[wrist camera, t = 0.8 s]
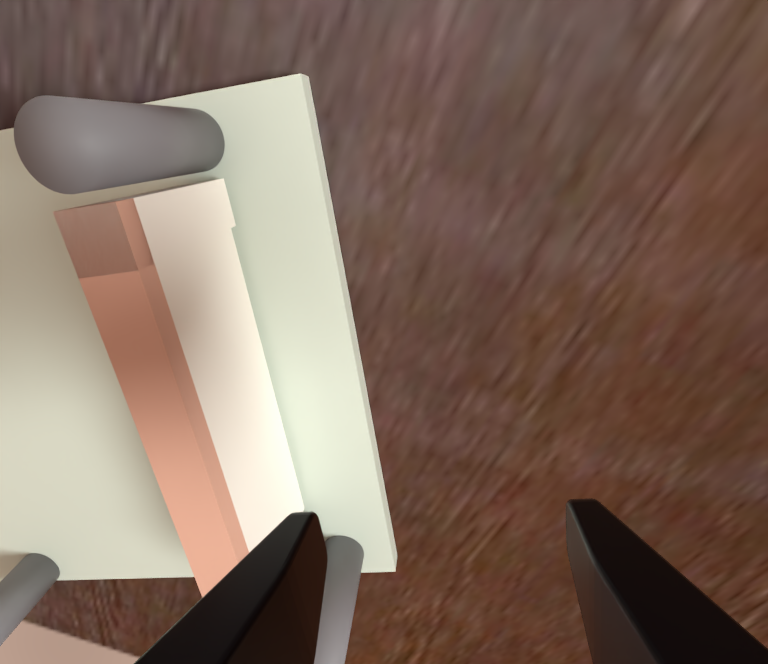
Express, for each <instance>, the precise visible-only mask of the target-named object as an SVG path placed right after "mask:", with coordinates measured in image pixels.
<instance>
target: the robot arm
mask: <svg viewBox="0 0 768 664" xmlns="http://www.w3.org/2000/svg"><path fill="white" fill-rule="evenodd" d="M566 539H567V551H568V557H569V561H570V566H571V570H572V574H573V579H574V583H575V587H576V592H577V596H578V601H579V605H580V609H581V614H582V618H583V622H584V627H585V631H586V635H587V640H588V644H589V648H590V652H591V656H592V660H593V664H768V649H767V648H766V647H765V646H764V645H763V644H762V643H760V642H759V641H758V640H757V639H756V638H755V637H754V636H752V635H751V634H750V633H749V632H748V631H747V630H745V629H744V628H743V627H742V626H741V625H740V624H739V623H737V622H736V621H735V620H734V619H733V618H732V617H731V616H729V615H728V614H727V613H726V612H725V611H724V610H723V609H721V608H720V607H719V606H718V605H717V604H716V603H715V602H713V601H712V600H711V599H710V598H709V597H708V596H707V595H705V594H704V593H703V592H702V591H701V590H700V589H699V588H697V587H696V586H695V585H694V584H693V583H692V582H690V581H689V580H688V579H687V578H686V577H685V576H684V575H682V574H681V573H680V572H679V571H678V570H677V569H676V568H674V567H673V566H672V565H671V564H670V563H669V562H668V561H666V560H665V559H664V558H663V557H662V556H661V555H660V554H658V553H657V552H656V551H655V550H654V549H653V548H652V547H650V546H649V545H648V544H647V543H646V542H645V541H643V540H642V539H641V538H640V537H639V536H638V535H637V534H635V533H634V532H633V531H632V530H631V529H630V528H629V527H627V526H626V525H625V524H624V523H623V522H622V521H621V520H619V519H618V518H617V517H616V516H615V515H614V514H613V513H611V512H610V511H609V510H608V509H607V508H606V507H605V506H603V505H602V504H601V503H600V502H599V501H597V500H595V499H571V500H569V501H568V502H567V503H566ZM327 562H328V556H327V548H326V544H325V541H324V537H323V533H322V529H321V525H320V521H319V517H318V516H317V514H316V513H315V512H312V511H311V512H294V513H291V514H289V515H288V516H287V517H286V518H285V519H284V520H283V521H282V522H281V523H280V524H279V525H278V526H276V527H275V528H274V529H273V530H272V531H271V532H270V533H269V534H268V535H267V536H266V537H265V538H264V539H263V540H262V541H261V542H260V543H259V544H258V545H257V546H256V547H255V548H254V549H253V550H252V551H250V552H249V553H248V554H247V555H246V556H245V557H244V558H243V559H242V560H241V561H240V562H239V563H238V564H237V565H236V566H235V567H234V568H233V569H232V570H231V571H230V572H229V573H228V574H227V575H225V576H224V577H223V578H222V579H221V580H220V581H219V582H218V583H217V584H216V585H215V586H214V587H213V588H212V589H211V590H210V591H209V592H208V593H207V594H206V595H205V596H204V597H203V598H202V599H201V600H199V601H198V602H197V603H196V604H195V605H194V606H193V607H192V608H191V609H190V610H189V611H188V612H187V613H186V614H185V615H184V616H183V617H182V618H181V619H180V620H179V621H178V622H177V623H176V624H174V625H173V626H172V627H171V628H170V629H169V630H168V631H167V632H166V633H165V634H164V635H163V636H162V637H161V638H160V639H159V640H158V641H157V642H156V643H155V644H154V645H153V646H152V647H151V648H150V649H148V650H147V651H146V652H145V653H144V654H143V655H142V656H141V657H140V658H139V659H138V660H137V661H136V662H135V663H134V664H314V660H315V654H316V647H317V640H318V632H319V625H320V617H321V610H322V602H323V594H324V587H325V579H326V572H327Z"/></svg>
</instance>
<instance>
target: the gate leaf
mask: <svg viewBox="0 0 768 664" xmlns="http://www.w3.org/2000/svg"><path fill="white" fill-rule="evenodd" d="M53 214H54V217H55V219H56V222H57V224H58V227H59V229H60V232H61V235H62V237H63V240H64V242H65V245H66V247H67V250H68V253H69V255H70V258H71V260H72V263H73V265H74V268H75V271H76V273H77V276H78V278H79V281H80V283H81V286H82V289H83V291H84V294H85V296H86V299H87V302H88V304H89V307H90V309H91V312H92V314H93V317H94V320H95V322H96V325H97V327H98V330H99V332H100V335H101V338H102V340H103V343H104V345H105V348H106V350H107V353H108V356H109V358H110V361H111V363H112V366H113V368H114V371H115V374H116V376H117V379H118V381H119V384H120V386H121V389H122V392H123V394H124V397H125V399H126V402H127V404H128V407H129V410H130V412H131V415H132V417H133V420H134V423H135V425H136V428H137V430H138V433H139V435H140V438H141V441H142V443H143V446H144V448H145V451H146V453H147V456H148V459H149V461H150V464H151V466H152V469H153V471H154V474H155V477H156V479H157V482H158V484H159V487H160V489H161V492H162V495H163V497H164V500H165V502H166V505H167V507H168V510H169V513H170V515H171V518H172V520H173V523H174V525H175V528H176V531H177V533H178V536H179V538H180V541H181V543H182V546H183V549H184V551H185V554H186V556H187V559H188V562H189V564H190V567H191V569H192V572H193V574H194V577H195V580H196V582H197V585H198V587H199V590H200V592H201V595H202V598H203V597H204V596H205V595H206V594H207V593H208V592H209V591H210V590H211V589H212V588H213V587H214V586H215V585H216V584H217V583H218V582H219V581H220V580H221V579H222V578H223V577H224V576H225V575H227V574H228V573H229V572H230V571H231V570H232V569H233V568H234V567H235V566H236V565H237V564H238V563H239V562H240V561H241V560H242V559H243V558H244V557H245V556H246V555H247V554H248V553H249V552H250V551H252V550H253V549H254V548H255V547H256V546H257V545H258V544H259V543H260V542H261V541H262V540H263V539H264V538H265V537H266V536H267V535H268V534H269V533H270V532H271V531H272V530H273V529H274V528H275V527H276V526H278V525H279V524H280V523H281V522H282V521H283V520H284V519H285V518H286V517H287V516H288V515H289V514H291V513H294V512H303V511H304V504H303V500H302V497H301V493H300V489H299V485H298V481H297V478H296V474H295V470H294V466H293V462H292V459H291V455H290V451H289V447H288V443H287V439H286V436H285V432H284V428H283V424H282V420H281V417H280V413H279V409H278V405H277V401H276V398H275V394H274V390H273V386H272V382H271V379H270V375H269V371H268V367H267V363H266V360H265V356H264V352H263V348H262V344H261V340H260V337H259V333H258V329H257V325H256V321H255V318H254V314H253V310H252V306H251V302H250V299H249V295H248V291H247V287H246V283H245V280H244V276H243V272H242V268H241V264H240V261H239V257H238V253H237V249H236V245H235V242H234V238H233V234H232V230H231V228H232V227H234V226H236V224H235V220H234V216H233V213H232V209H231V205H230V201H229V197H228V193H227V189H226V185H225V182H224V178H223V179H216V180H210V181H204V182H198V183H191V184H185V185H179V186H174V187H169V188H165V189H160V190H155V191H150V192H145V193H141V194H136V195H131V196H126V197H121V198H117V199H112V200H107V201H102V202H97V203H93V204H88V205H83V206H78V207H74V208H69V209H64V210H59V211H54V212H53Z"/></svg>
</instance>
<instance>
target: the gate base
mask: <svg viewBox="0 0 768 664" xmlns="http://www.w3.org/2000/svg"><path fill="white" fill-rule="evenodd" d="M223 178H224V182H225V185H226V189H227V193H228V197H229V201H230V205H231V209H232V213H233V216H234V220H235V224H236V226H234V227H232V228H231V230H232V234H233V238H234V242H235V245H236V249H237V253H238V257H239V261H240V264H241V268H242V272H243V276H244V280H245V283H246V287H247V291H248V295H249V299H250V302H251V306H252V310H253V314H254V318H255V321H256V325H257V329H258V333H259V337H260V340H261V344H262V348H263V352H264V356H265V360H266V363H267V367H268V371H269V375H270V379H271V382H272V386H273V390H274V394H275V398H276V401H277V405H278V409H279V413H280V417H281V420H282V424H283V428H284V432H285V436H286V439H287V443H288V447H289V451H290V455H291V459H292V462H293V466H294V470H295V474H296V478H297V481H298V485H299V489H300V493H301V497H302V500H303V504H304V511H303V512H311V511H312V512H315V513H316V514H317V516H318V517H319V521H320V525H321V529H322V533H323V537H324V541H325V544H326V548H327V556H328V562H327V572H326V579H325V587H324V594H323V602H322V610H321V617H320V625H319V632H318V640H317V647H316V654H315V660H314V664H344V663H345V658H346V652H347V647H348V641H349V636H350V630H351V625H352V619H353V614H354V608H355V603H356V597H357V591H358V586H359V580H360V575H361V573H363V572H396V562H397V551H396V545H395V540H394V535H393V529H392V524H391V518H390V513H389V508H388V502H387V497H386V491H385V486H384V481H383V475H382V470H381V464H380V459H379V454H378V448H377V443H376V437H375V432H374V427H373V421H372V416H371V411H370V405H369V400H368V394H367V389H366V384H365V378H364V373H363V367H362V362H361V357H360V351H359V346H358V340H357V335H356V330H355V324H354V319H353V313H352V308H351V303H350V297H349V292H348V286H347V281H346V276H345V270H344V265H343V260H342V254H341V249H340V243H339V238H338V233H337V227H336V222H335V216H334V211H333V206H332V200H331V195H330V189H329V184H328V179H327V173H326V168H325V162H324V157H323V152H322V146H321V141H320V135H319V130H318V125H317V119H316V114H315V108H314V103H313V98H312V92H311V87H310V82H309V77H308V76H306V75H303V74H301V73H300V74H295V75H290V76H285V77H279V78H274V79H269V80H264V81H258V82H253V83H248V84H242V85H237V86H232V87H227V88H221V89H216V90H211V91H205V92H200V93H195V94H190V95H184V96H179V97H174V98H169V99H163V100H158V101H153V102H147V103H142V104H138V103H127V102H116V101H105V100H94V99H83V98H72V97H61V96H48V95H44V96H38V97H35V98H33V99H30V100H29V101H27V102H26V103H25V104H24V105H23V106H22V107H21V109H20V110H19V112H18V114H17V116H16V119H15V123H14V128H10V129H5V130H0V646H1V645H2V643H3V642H4V641H5V640H6V639H7V637H8V636H9V635H10V634H11V633H12V632H13V630H14V629H15V628H16V627H17V626H18V625H19V623H20V622H21V621H22V620H23V619H24V618H25V616H26V615H27V614H28V613H29V612H30V611H31V609H32V608H33V607H34V606H35V605H36V604H37V602H38V601H39V600H40V599H41V598H42V597H43V595H44V594H45V593H46V592H47V591H48V590H49V588H50V587H51V586H52V585H53V584H54V583H55V581H56V580H89V579H129V578H168V577H194V574H193V572H192V569H191V567H190V564H189V562H188V559H187V556H186V554H185V551H184V549H183V546H182V543H181V541H180V538H179V536H178V533H177V531H176V528H175V525H174V523H173V520H172V518H171V515H170V513H169V510H168V507H167V505H166V502H165V500H164V497H163V495H162V492H161V489H160V487H159V484H158V482H157V479H156V477H155V474H154V471H153V469H152V466H151V464H150V461H149V459H148V456H147V453H146V451H145V448H144V446H143V443H142V441H141V438H140V435H139V433H138V430H137V428H136V425H135V423H134V420H133V417H132V415H131V412H130V410H129V407H128V404H127V402H126V399H125V397H124V394H123V392H122V389H121V386H120V384H119V381H118V379H117V376H116V374H115V371H114V368H113V366H112V363H111V361H110V358H109V356H108V353H107V350H106V348H105V345H104V343H103V340H102V338H101V335H100V332H99V330H98V327H97V325H96V322H95V320H94V317H93V314H92V312H91V309H90V307H89V304H88V302H87V299H86V296H85V294H84V291H83V289H82V286H81V283H80V281H79V278H78V276H77V273H76V271H75V268H74V265H73V263H72V260H71V258H70V255H69V253H68V250H67V247H66V245H65V242H64V240H63V237H62V235H61V232H60V229H59V227H58V224H57V222H56V219H55V217H54V214H53V212H54V211H59V210H64V209H69V208H74V207H78V206H83V205H88V204H93V203H97V202H102V201H107V200H112V199H117V198H121V197H126V196H131V195H136V194H141V193H145V192H150V191H155V190H160V189H165V188H169V187H174V186H179V185H185V184H191V183H198V182H204V181H210V180H216V179H223Z"/></svg>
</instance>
